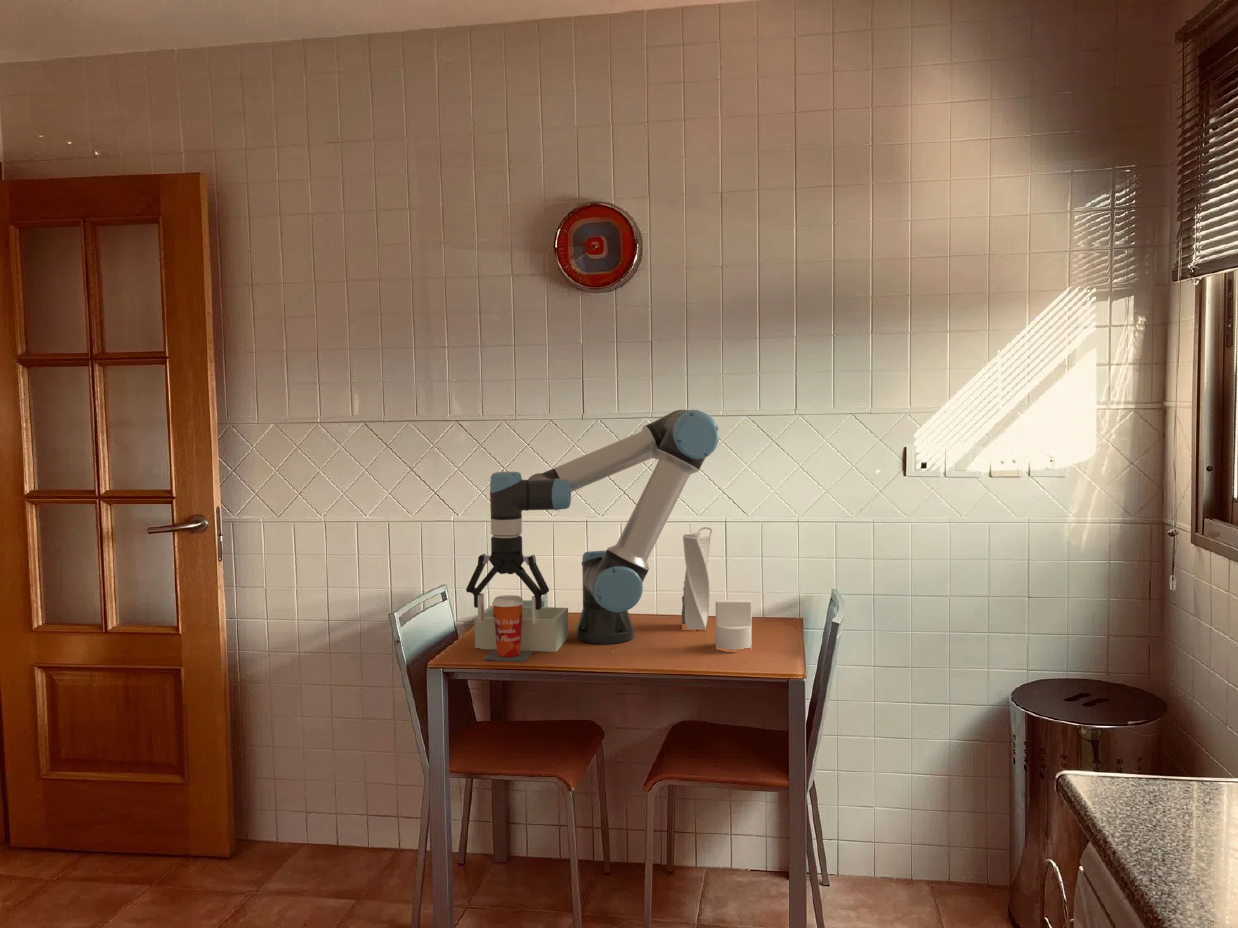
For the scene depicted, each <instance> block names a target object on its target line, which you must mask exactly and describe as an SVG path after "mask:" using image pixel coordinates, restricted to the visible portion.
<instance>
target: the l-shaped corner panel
mask: <svg viewBox="0 0 1238 928" xmlns="http://www.w3.org/2000/svg"><path fill="white" fill-rule="evenodd" d="M548 593H549V592H548ZM548 593H546V594H545V595H542V607H548V606H549V603H548V602H549V599H548V598H549V597H548V596H549V595H548ZM523 602H524V604H522V606H523V607H532V599H531V600H529V599H527V600H526V599H525V600H523Z"/></svg>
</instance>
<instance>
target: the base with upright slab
mask: <svg viewBox="0 0 1238 928" xmlns="http://www.w3.org/2000/svg"><path fill="white" fill-rule="evenodd" d="M752 601H753V600H751V599H715V648H716V647H718V648H724V649H734V650H736V649H744V648H750V647H751V648H752V646H751V645H752V639H753V638H752V630H753V629H752V626H753V625H752V621H753V619H752V614H753V613H752V611H753V610H752V609H753V608H752V606H753V605H752V603H753V602H752Z"/></svg>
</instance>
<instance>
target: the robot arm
mask: <svg viewBox="0 0 1238 928" xmlns="http://www.w3.org/2000/svg"><path fill="white" fill-rule="evenodd" d="M719 441H720V431H719V427H718V424H717V423H716V421H715V420H714V419H713V417H712V416H710V415H709V414H708V413H706V412H704V411H702V410H699V409H677V410H674V411H671V412H670V413H667V414H666V415H664V416H662V417H660V418H658V419H656V420H655V421H651V422H650V423H648V424H645V425H643V426H642V429H641V431H639V432H637V433H634V434H632V435H630V436H627V437H625V438H623V439H620V440H618V441H615V442H613V443H611V444H608V445H605V446H603V447H601V448H599V449H596V450H594V451H591V452H588V453H587V454H584V455H582V456H579V457H576V458H575V459H572V460H571V461H568V462H566V463H563V464H561V465H558V466H555V467H554V468H551V469H548V470H546V471H544V472H542V473H541V472H540V473H535V474H532V475H531V476H529V478H528V479H523V478H522V474H521V473H520V472H518V471H497V472H494V473H492V474H491V476H490V481H489V482H490V483H489V485H490V486H489V487H490V490H489V504H490V534H491V535H492V537H491V538H490V545H491V546H490V548H491V549H490V551H491V553H490V555H486V554H485V553H482V554H480V555H479V556H478V559H477V566H476V568H475V569H474V572H473V574H472V576H471V578H470V580H469V582H468V584H467V586H466V588H465V592H466V593H470V594H473V607H474V608H475V609H476V608H477V615H478V622H482V621H483V620H484V610H485V593H484V592H483V593H482V591H483V590H484V589H485V588H486V586H487V585H488V584H489V583H490V581H491V580H492V579H493V578H494V577H495V576H496V574H497V573H499V574H500V575H505V574H507V575H513V574H516V576H518V577H519V578H520V579H521V582H522V583H524V585H525V586H526V587H527V588H528V589H529V590H530V591H531V593H532V594H533V596H531V600H532V624H536V623H537V622H538V610H540V609H541V607H542V597H543V595H545V594H546V593H549V592H550V589H549V586H548V584H547V582H546V580H545V578H544V577H543V575H542V572H541V570H540V569H539V566H538V565H537V559H536V555H535V554H531V555H528V556H524V553H523V536H522V533H523V522H522V521H523V515H522V511H523V512H524V511H559V510H567V509H569V508H570V507H571V502H572V493H573V492H575V491H577V490H579V489H582V488H584V487H587V486H589V485H592V484H593V483H596V482H598V481H601V480H604V479H605V478H608V477H611V476H613V475H615V474H618V473H620V472H622V471H625V470H627V469H629V468H632V467H635V466H637V465H639V464H642V463H644V462H646V461H649V460H651V459H654V460H657V463H656V465H655V467H654V469H653V471H652V473H651V475H650V477H649V479H648V481H647V483H646V485H645V487H644V489H643V491H642V492H641V495H640V497H639V499H638V501H637V503H636V505H635V507H634V508H633V511H632V513H631V514H630V516H629V519H628V520H627V523H626V525H625V527H624V528H623V531H622V532H621V534H620V536H619V538H618V540H617V542H616V544H614V545H612V546H610V547H607V549H606V550H591V551H585V552H583V554H582V559H581V560H582V561H581V566H582V568H581V569H582V572H581V573H582V611H581V614H580V617H579V620H578V623H577V627H576V639H577V640H579V641H581V642H583V643H588V644H597V645H598V644H600V645H603V644H604V645H607V644H608V645H611V644H618V643H619V644H620V643H625V642H628V641H630V640H632V639H634V637H635V629H634V625H633V622H632V620H631V616H630V614H629V610H631V609H633V608H635V606H636V605H637V604H638V603H639V601H640V600H641V598H642V595H643V590H644V588H643V587H644V585H643V583H644V580H645V578H646V576H647V574H648V572H649V571H650V566H649V563H648V559H649V557H650V555H651V553H652V551H653V549H654V547H655V545H656V543H657V541H658V540H659V537H660V535H661V533H662V531H663V529H664V527H665V525H666V523H667V521H668V520H669V518H670V515H671V513H672V511H673V509H674V508H675V505H676V503H677V501H678V500H679V497H680V495H681V493H682V492H683V490H684V487H685V486H686V484H687V481H688V479H689V478H690V475H692V474H695V473H698V472H699V471H700V469H701V467H702V465H703V464H704V462H705V459H706V458H708V457H709V456H711V454H713V452H715V450H716V449H717V447H718V445H719V443H720V442H719ZM489 562H490V564H491V566H492V568H491V569H490V570H489V572H488V573H487V574H486V576H485V577H484V578H483V579H482V581H480V582H479V584H478V585H477V587H476V584H477V582H478V580H479V578H480V576H481V575H482V572H483V570H484V568H485V567H486V565H487V564H488V563H489ZM523 563H526V565H527V566H528V567H529V570H530V572H531V574H532V575H533V577H534V580H535V581H536V582H535V581H534V580H533V579H532V578H531V577H530V576H529V574H528V573H527V572H526V570H525V568H524V567H523V566H522V564H523ZM536 583H537V584H536Z"/></svg>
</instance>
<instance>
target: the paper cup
mask: <svg viewBox="0 0 1238 928" xmlns="http://www.w3.org/2000/svg"><path fill="white" fill-rule="evenodd" d="M522 604H524V602H523V598H522V597H521V596H519V595H514V594H511V595H510V594H507V595H499V596H495V598H493V601H492V602H491V606H494V621H495V632H496V645H497V654H498V656H500V657H516V656H519V655H520V650H521V629H522Z"/></svg>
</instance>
